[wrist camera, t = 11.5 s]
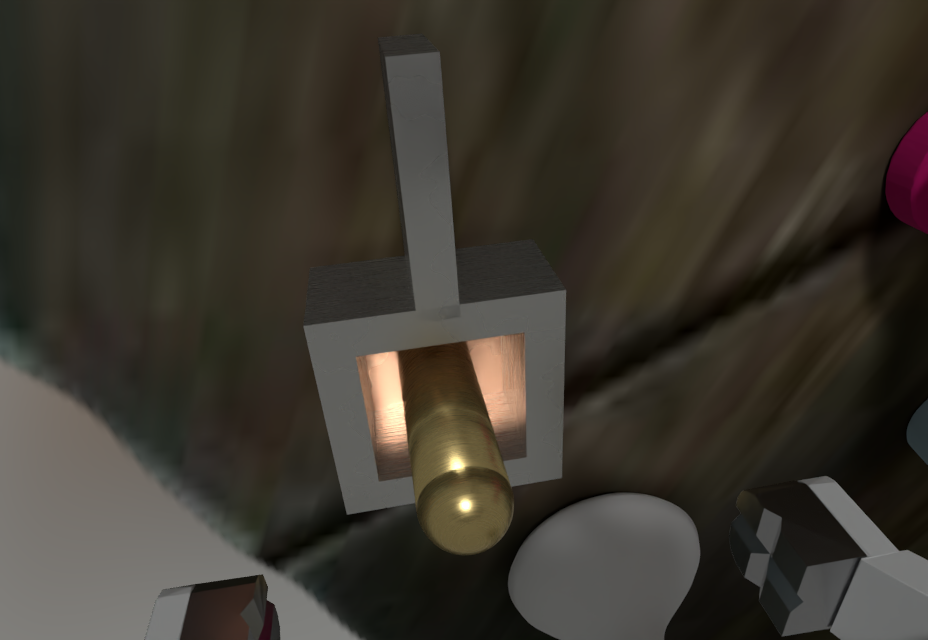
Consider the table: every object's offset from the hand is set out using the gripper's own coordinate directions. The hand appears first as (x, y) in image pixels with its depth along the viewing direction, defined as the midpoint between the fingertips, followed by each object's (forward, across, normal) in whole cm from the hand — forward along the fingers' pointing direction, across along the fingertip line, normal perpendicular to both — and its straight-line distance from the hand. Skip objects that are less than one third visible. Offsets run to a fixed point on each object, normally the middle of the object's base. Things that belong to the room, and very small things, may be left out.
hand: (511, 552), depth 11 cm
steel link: (+16, 0, +2) cm, 16 cm away
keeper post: (+17, 0, +7) cm, 18 cm away
